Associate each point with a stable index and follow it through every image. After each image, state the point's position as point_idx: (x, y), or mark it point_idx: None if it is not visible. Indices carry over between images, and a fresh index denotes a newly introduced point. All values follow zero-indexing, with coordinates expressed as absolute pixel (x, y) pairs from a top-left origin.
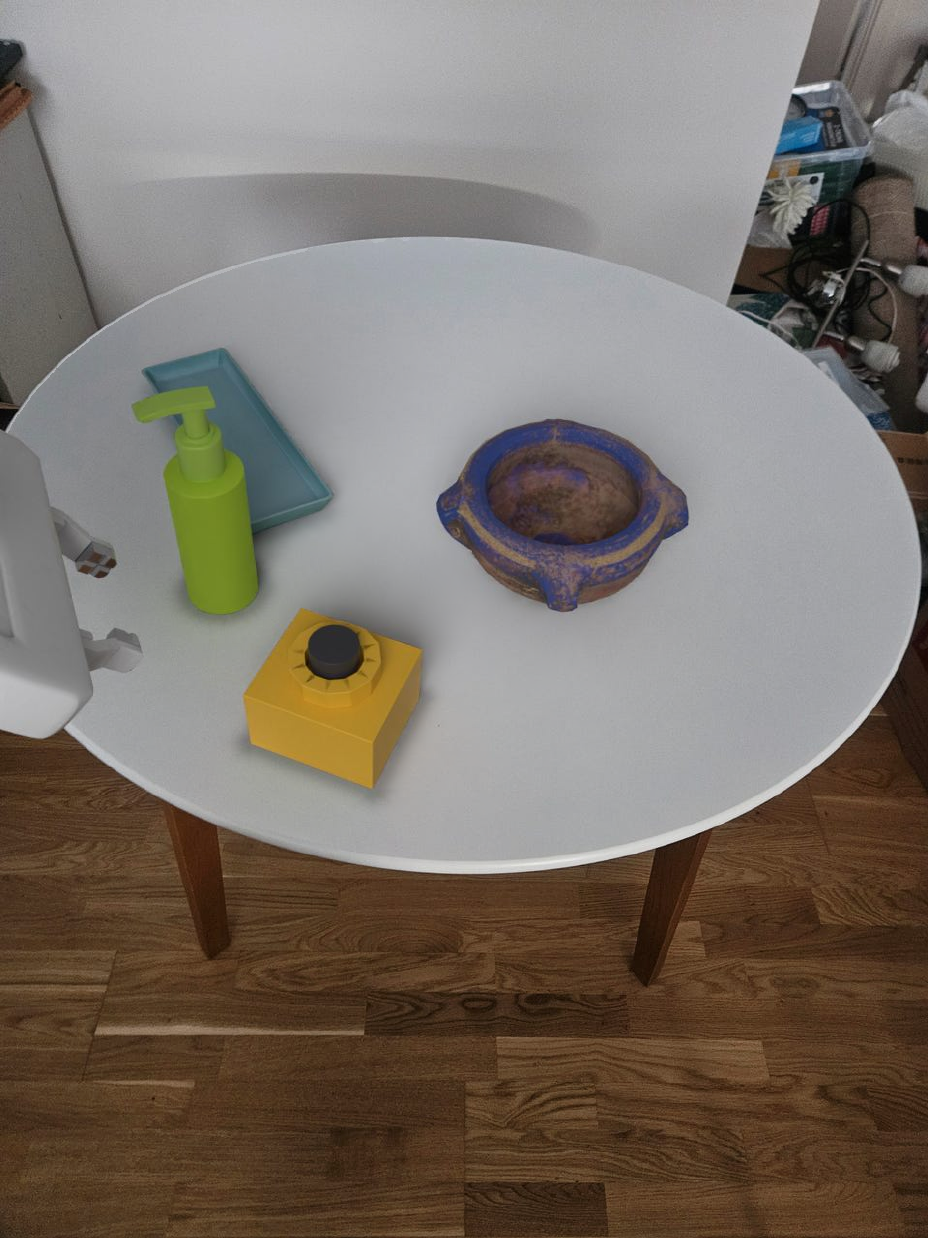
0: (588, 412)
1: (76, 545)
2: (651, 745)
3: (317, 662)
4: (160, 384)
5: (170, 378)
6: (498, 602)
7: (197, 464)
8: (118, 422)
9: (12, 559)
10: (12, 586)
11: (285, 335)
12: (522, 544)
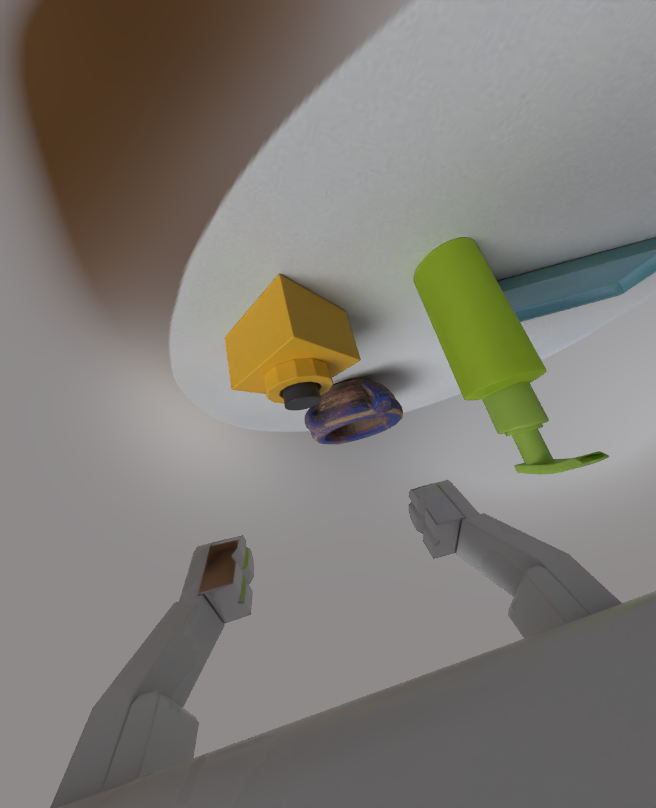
0: (407, 392)
1: (474, 550)
2: (243, 405)
3: (291, 398)
4: None
5: None
6: (335, 376)
7: (501, 412)
8: None
9: None
10: None
11: (580, 312)
12: (336, 427)
